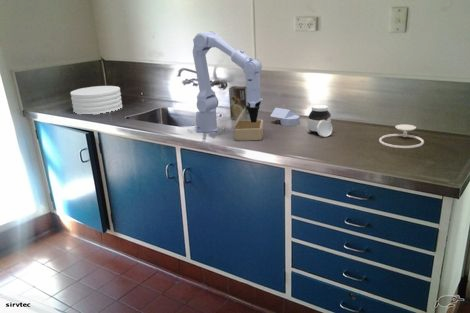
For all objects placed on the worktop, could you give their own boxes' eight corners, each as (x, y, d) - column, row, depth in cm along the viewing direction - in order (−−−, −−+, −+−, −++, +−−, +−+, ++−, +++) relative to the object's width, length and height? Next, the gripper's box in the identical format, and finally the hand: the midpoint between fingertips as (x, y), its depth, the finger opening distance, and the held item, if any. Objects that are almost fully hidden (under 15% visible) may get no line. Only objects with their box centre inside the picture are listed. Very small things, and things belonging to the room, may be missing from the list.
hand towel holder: (374, 135, 171) (386, 122, 187) (374, 146, 172) (385, 132, 189) (421, 140, 162) (429, 126, 179) (420, 151, 164) (428, 136, 180)
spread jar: (318, 128, 198) (319, 103, 195) (340, 132, 191) (341, 106, 187) (302, 134, 191) (302, 108, 187) (324, 139, 183) (325, 112, 179)
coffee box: (251, 117, 223) (250, 86, 218) (247, 120, 218) (245, 88, 212) (234, 116, 227) (233, 85, 221) (230, 119, 221) (228, 88, 216)
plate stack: (63, 112, 256) (59, 93, 252) (100, 102, 278) (97, 84, 275) (96, 116, 242) (93, 96, 238) (132, 106, 264) (129, 87, 260)
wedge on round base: (270, 123, 211) (292, 127, 203) (269, 109, 209) (292, 112, 201) (281, 119, 217) (303, 122, 209) (281, 105, 215) (303, 109, 207)
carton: (235, 140, 186) (234, 129, 185) (238, 130, 201) (238, 120, 200) (261, 140, 185) (261, 129, 184) (263, 130, 200) (263, 119, 198)
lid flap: (234, 128, 186) (233, 128, 186) (237, 120, 199) (236, 119, 199) (241, 117, 184) (240, 116, 184) (244, 109, 197) (243, 109, 197)
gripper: (261, 92, 179) (262, 124, 183) (263, 85, 193) (264, 115, 197) (244, 92, 180) (246, 124, 184) (247, 86, 193) (248, 116, 198)
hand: (254, 120), depth 191 cm, fingers open, 7 cm apart
